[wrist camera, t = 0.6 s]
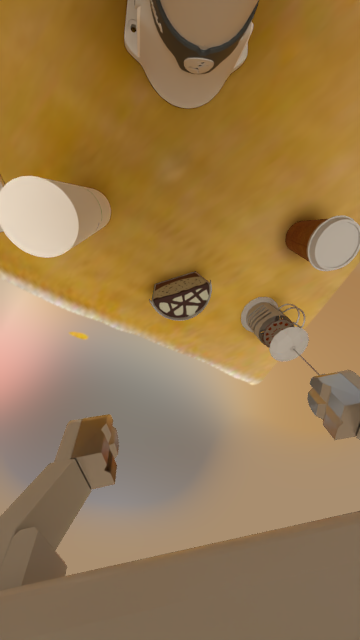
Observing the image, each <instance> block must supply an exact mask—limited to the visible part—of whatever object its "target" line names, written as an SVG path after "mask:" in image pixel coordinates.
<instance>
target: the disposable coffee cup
mask: <svg viewBox="0 0 360 640" xmlns="http://www.w3.org/2000/svg"><path fill="white" fill-rule="evenodd" d="M286 245H287V247H288V248H289V249H290V250H292V251H293V252H295V253H296V254H298V255H300V256H301V257H303V258H304V259H306V260H307V261H309V262H310V263H311V264H312V266H313V267H315V268H316V269H318V270H321V271H331V270H336V269H340V268H342V267H344V266H345V265H347V264H348V263H349V262H351V261H352V260H353V258H354V257H355V256H356V255H357V253H358V251H359V249H360V226H359V225H358V223H356V222H355V221H354V220H353V219H352V218H350V217H347V216H335V217H332V218H329V219H320V220H308V221H299V222H297V223H295V224H294V225H292V226H291V228H290V229H289V230H288V232H287V235H286Z"/></svg>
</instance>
